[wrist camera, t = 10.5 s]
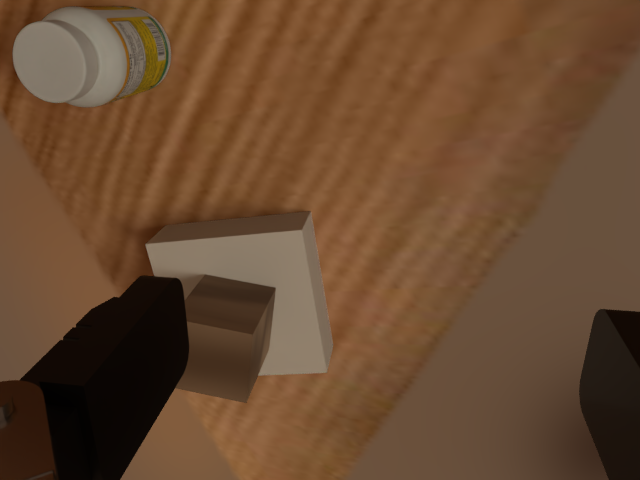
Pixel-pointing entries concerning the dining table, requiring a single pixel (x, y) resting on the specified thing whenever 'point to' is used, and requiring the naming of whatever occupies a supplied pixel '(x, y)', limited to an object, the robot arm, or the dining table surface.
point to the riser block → (259, 277)
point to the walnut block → (227, 336)
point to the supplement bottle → (91, 55)
